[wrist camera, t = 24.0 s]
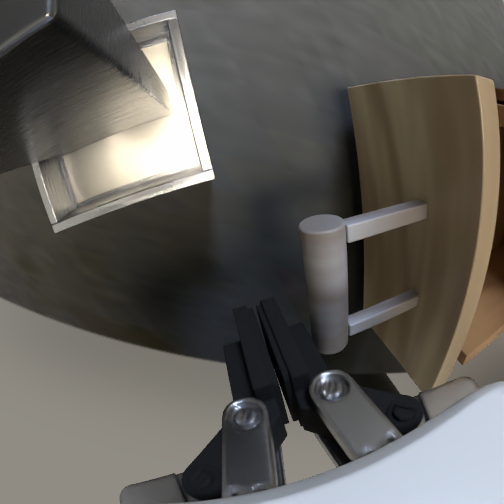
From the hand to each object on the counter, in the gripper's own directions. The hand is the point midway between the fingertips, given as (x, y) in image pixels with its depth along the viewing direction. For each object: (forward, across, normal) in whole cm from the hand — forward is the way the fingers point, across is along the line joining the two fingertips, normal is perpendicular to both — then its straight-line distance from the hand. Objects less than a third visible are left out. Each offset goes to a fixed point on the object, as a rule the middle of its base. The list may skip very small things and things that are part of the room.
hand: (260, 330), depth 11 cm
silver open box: (+4, +4, -9) cm, 11 cm away
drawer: (+3, -12, -2) cm, 12 cm away
